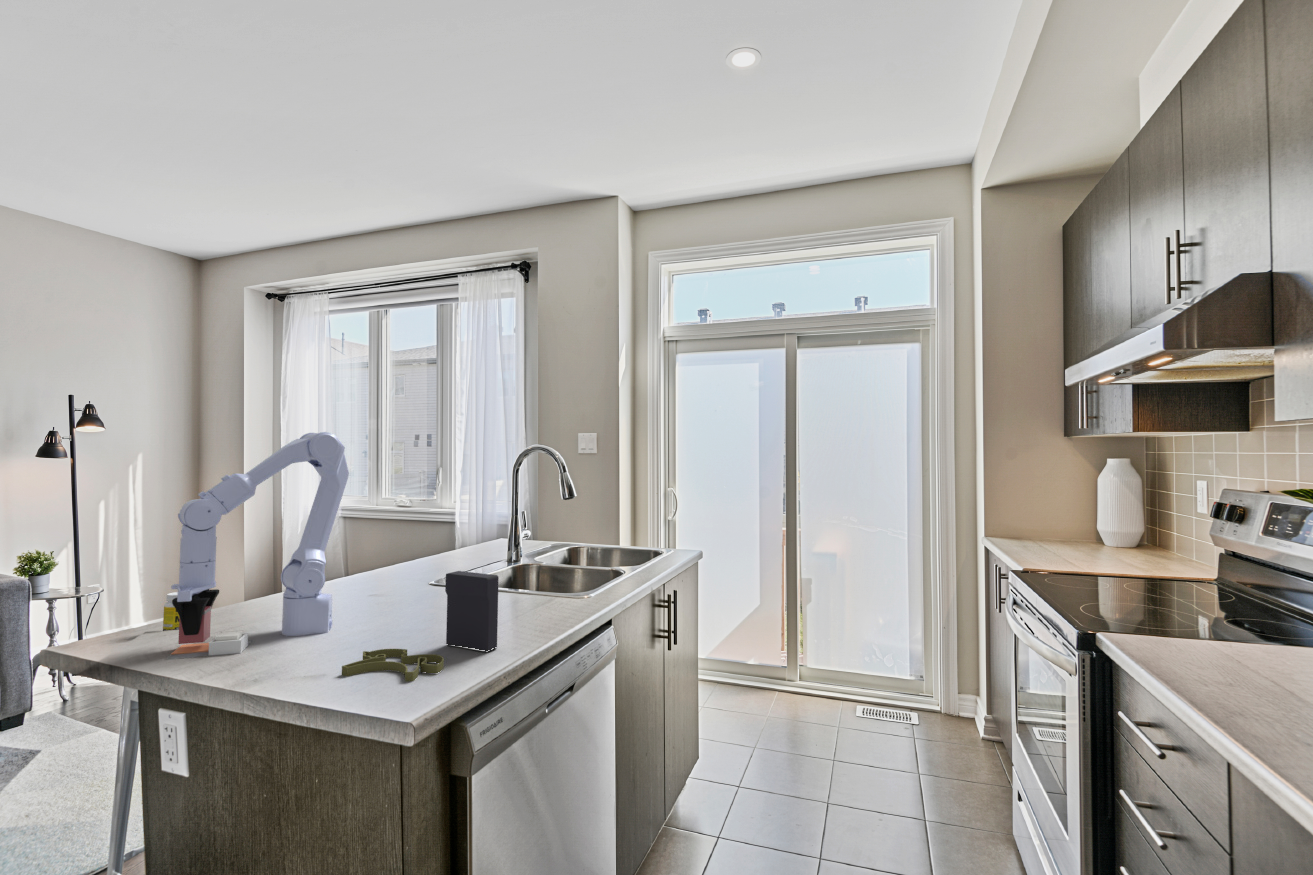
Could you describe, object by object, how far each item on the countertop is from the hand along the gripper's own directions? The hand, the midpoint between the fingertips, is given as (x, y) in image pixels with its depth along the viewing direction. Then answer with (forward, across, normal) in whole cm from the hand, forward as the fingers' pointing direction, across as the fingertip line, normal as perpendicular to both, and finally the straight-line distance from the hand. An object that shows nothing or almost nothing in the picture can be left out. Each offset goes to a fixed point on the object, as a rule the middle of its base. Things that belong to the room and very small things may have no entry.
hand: (195, 631), depth 123 cm
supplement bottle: (+5, -20, -9) cm, 22 cm away
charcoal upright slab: (+5, +11, +51) cm, 52 cm away
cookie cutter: (+5, +20, +37) cm, 42 cm away
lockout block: (+2, 0, 0) cm, 2 cm away
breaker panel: (+4, +2, +3) cm, 6 cm away
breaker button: (+3, +3, +6) cm, 8 cm away
